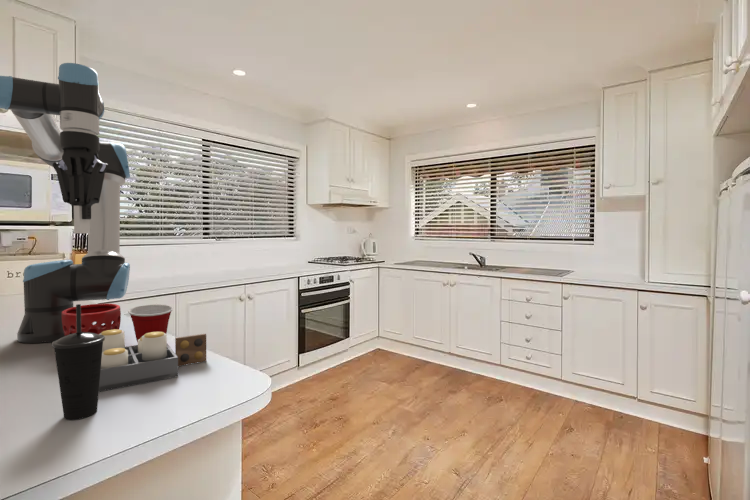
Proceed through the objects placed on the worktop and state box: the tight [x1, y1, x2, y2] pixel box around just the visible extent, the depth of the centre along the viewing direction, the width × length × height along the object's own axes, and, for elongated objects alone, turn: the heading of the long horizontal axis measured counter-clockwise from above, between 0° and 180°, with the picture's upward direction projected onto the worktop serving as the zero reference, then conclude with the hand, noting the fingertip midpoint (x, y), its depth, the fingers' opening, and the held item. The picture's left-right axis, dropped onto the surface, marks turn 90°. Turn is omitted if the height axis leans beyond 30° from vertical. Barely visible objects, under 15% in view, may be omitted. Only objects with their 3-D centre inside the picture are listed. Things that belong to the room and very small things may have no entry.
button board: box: [99, 343, 179, 392], centre depth 92 cm, size 16×16×4 cm
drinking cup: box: [51, 304, 105, 421], centre depth 72 cm, size 8×8×20 cm
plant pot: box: [62, 303, 122, 336], centre depth 109 cm, size 13×13×12 cm
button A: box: [99, 328, 126, 353], centre depth 93 cm, size 5×5×5 cm
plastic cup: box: [127, 303, 174, 344], centre depth 109 cm, size 11×11×12 cm
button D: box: [142, 332, 168, 361], centre depth 91 cm, size 5×5×5 cm
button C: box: [101, 348, 128, 369], centre depth 87 cm, size 5×5×5 cm
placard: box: [174, 333, 207, 367], centre depth 100 cm, size 1×7×7 cm, turn 127°
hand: (82, 233), depth 95 cm, fingers closed
